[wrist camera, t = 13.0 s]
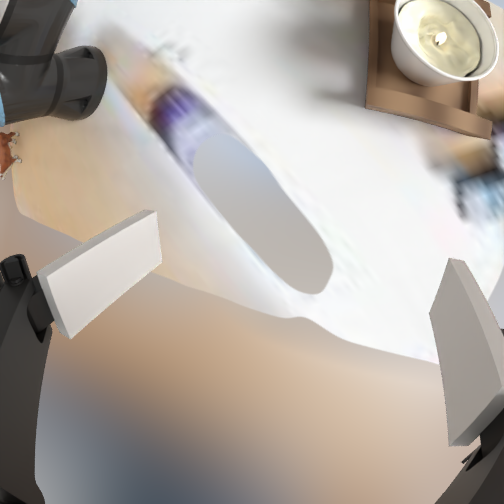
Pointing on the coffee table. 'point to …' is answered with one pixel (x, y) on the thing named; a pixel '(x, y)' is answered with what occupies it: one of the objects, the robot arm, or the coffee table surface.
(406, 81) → the wooden tray
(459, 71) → the candle holder
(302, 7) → the coffee table surface
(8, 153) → the bull figurine
